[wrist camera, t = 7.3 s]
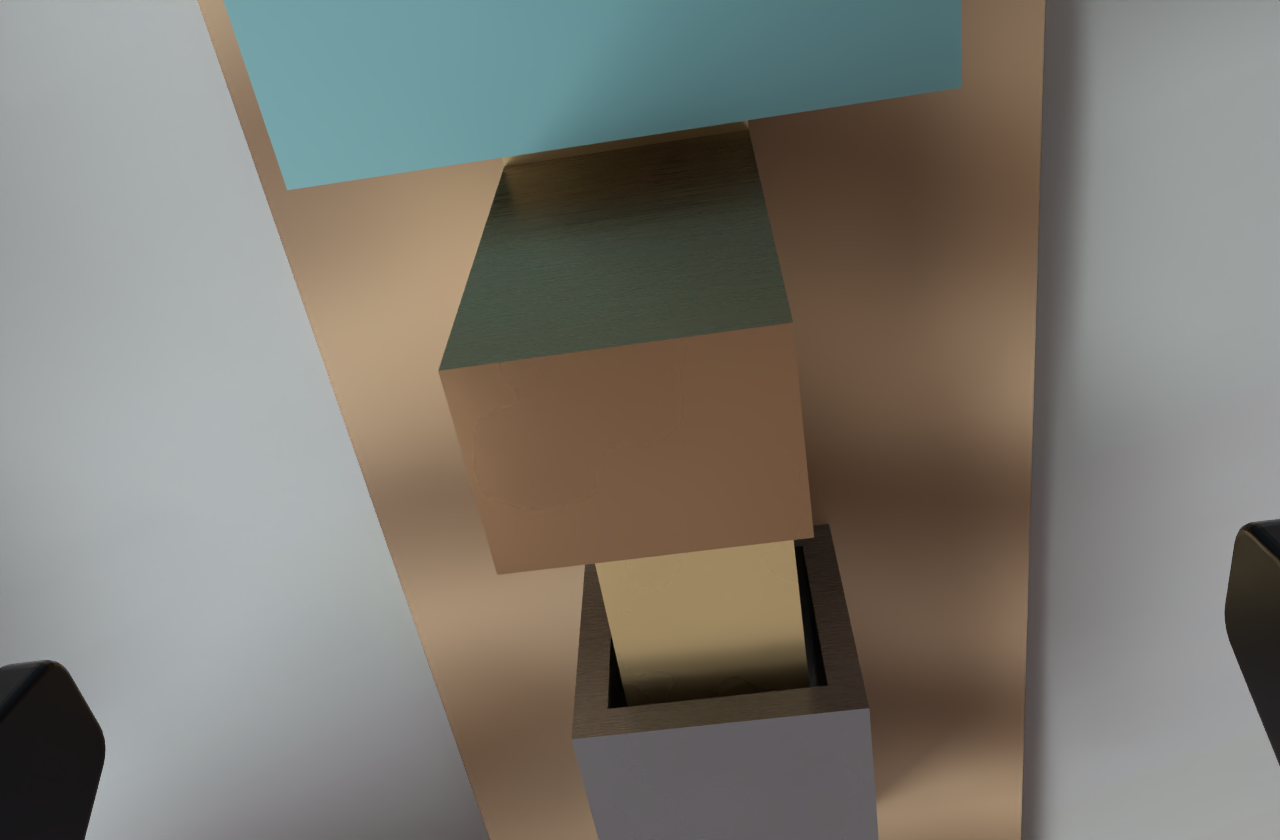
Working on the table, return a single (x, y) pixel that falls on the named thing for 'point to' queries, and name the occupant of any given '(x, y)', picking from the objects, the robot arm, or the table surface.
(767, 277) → the l-shaped wooden step
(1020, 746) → the base board
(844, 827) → the sleeve
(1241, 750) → the table surface
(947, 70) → the socket block
